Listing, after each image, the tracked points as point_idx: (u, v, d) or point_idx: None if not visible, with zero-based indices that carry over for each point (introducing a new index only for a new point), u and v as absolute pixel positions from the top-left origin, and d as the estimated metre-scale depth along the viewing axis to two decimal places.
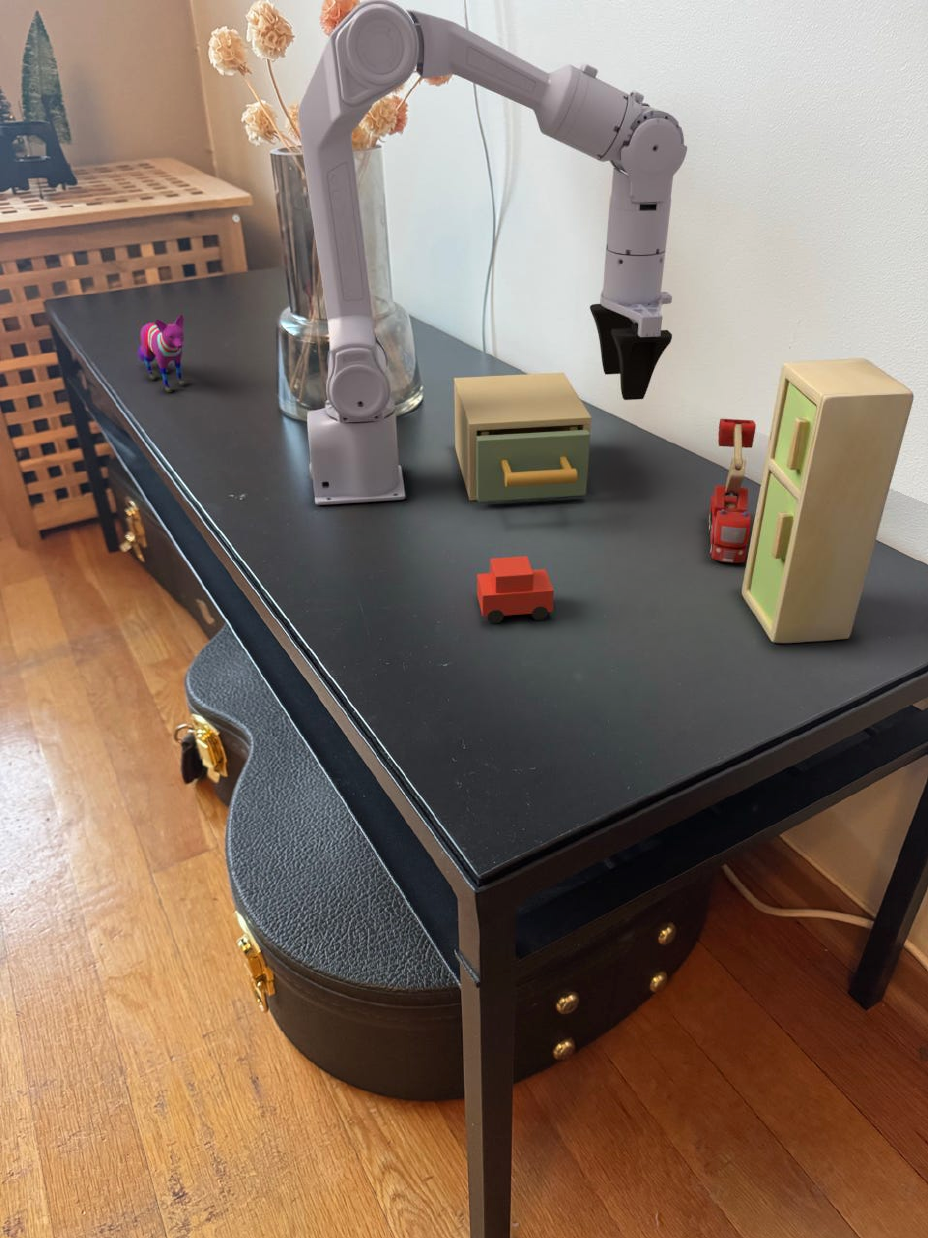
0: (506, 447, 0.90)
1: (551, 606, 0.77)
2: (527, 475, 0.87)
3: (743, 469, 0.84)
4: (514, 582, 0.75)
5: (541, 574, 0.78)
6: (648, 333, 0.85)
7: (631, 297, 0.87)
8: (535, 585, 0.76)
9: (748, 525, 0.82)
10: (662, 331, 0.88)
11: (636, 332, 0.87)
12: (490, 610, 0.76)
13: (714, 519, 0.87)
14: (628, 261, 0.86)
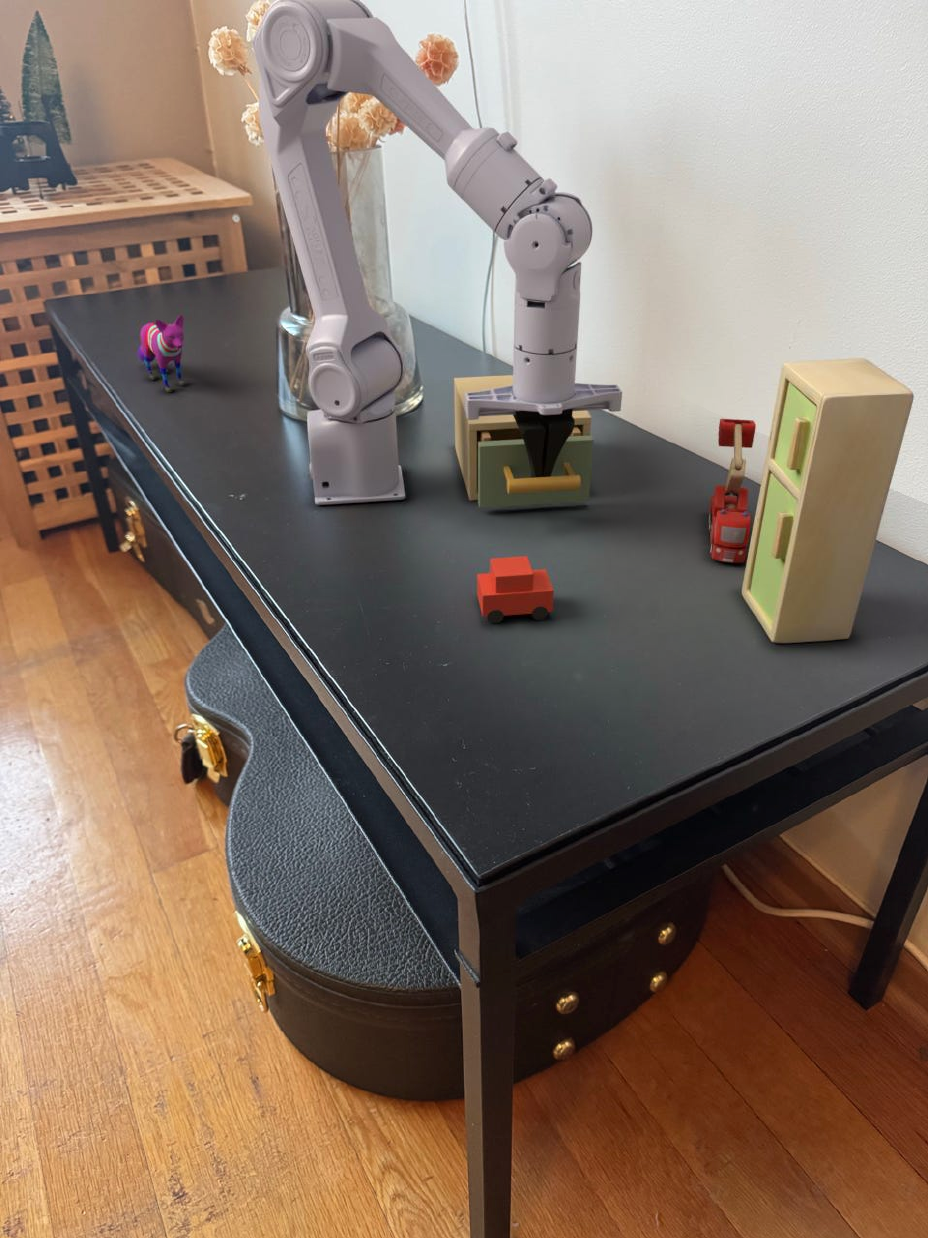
0: (508, 453, 0.89)
1: (551, 606, 0.77)
2: (530, 482, 0.86)
3: (743, 469, 0.84)
4: (514, 582, 0.75)
5: (541, 574, 0.78)
6: (465, 411, 0.84)
7: None
8: (535, 585, 0.76)
9: (748, 525, 0.82)
10: (537, 425, 0.83)
11: None
12: (490, 610, 0.76)
13: (714, 519, 0.87)
14: None
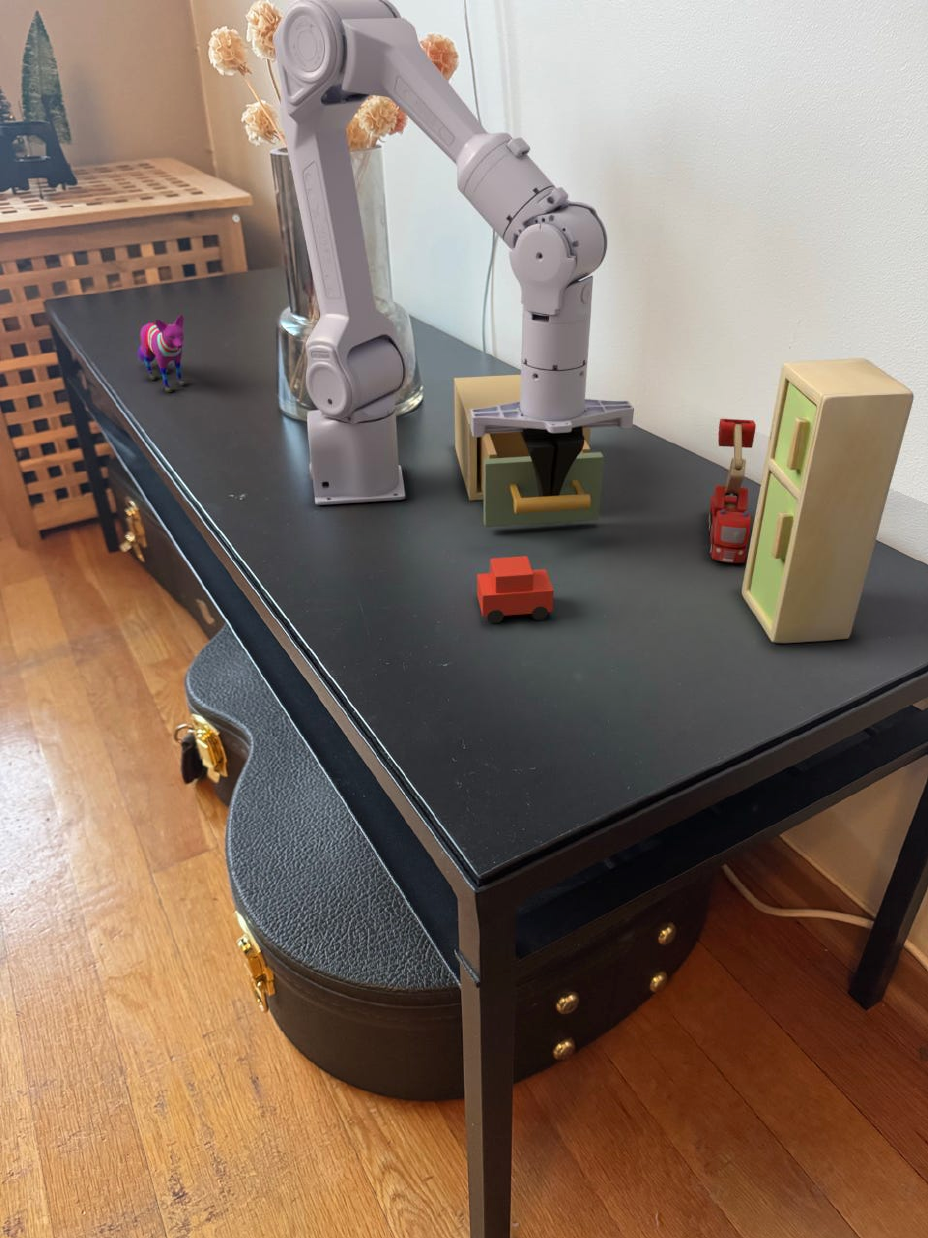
0: (515, 471, 0.86)
1: (551, 606, 0.77)
2: (537, 501, 0.83)
3: (743, 469, 0.84)
4: (514, 582, 0.75)
5: (541, 574, 0.78)
6: (470, 428, 0.81)
7: None
8: (535, 585, 0.76)
9: (748, 525, 0.82)
10: (545, 443, 0.80)
11: None
12: (490, 610, 0.76)
13: (714, 519, 0.87)
14: None
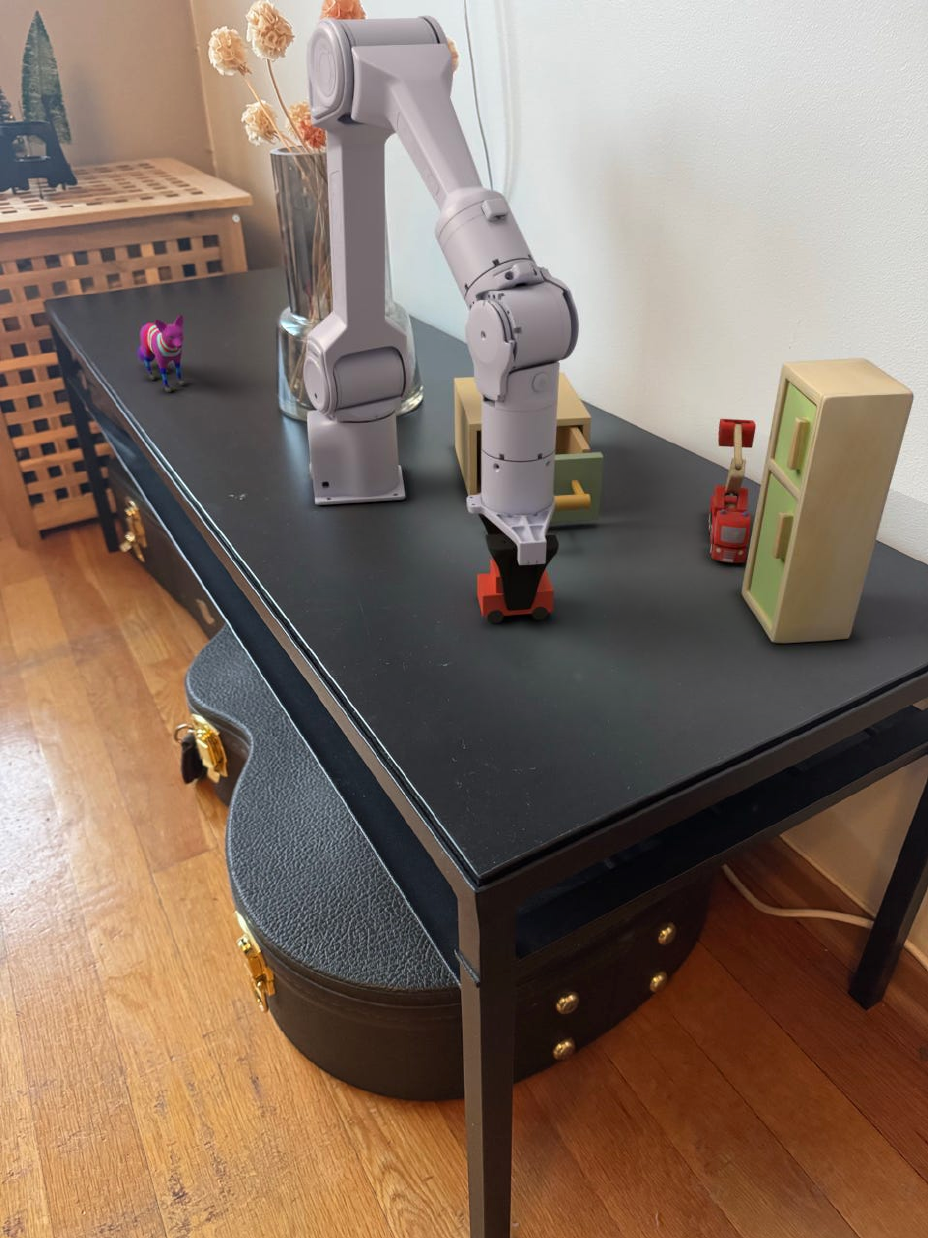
0: None
1: (551, 606, 0.76)
2: None
3: (743, 469, 0.84)
4: None
5: None
6: None
7: None
8: None
9: (748, 525, 0.82)
10: None
11: None
12: (490, 610, 0.76)
13: (714, 519, 0.87)
14: None
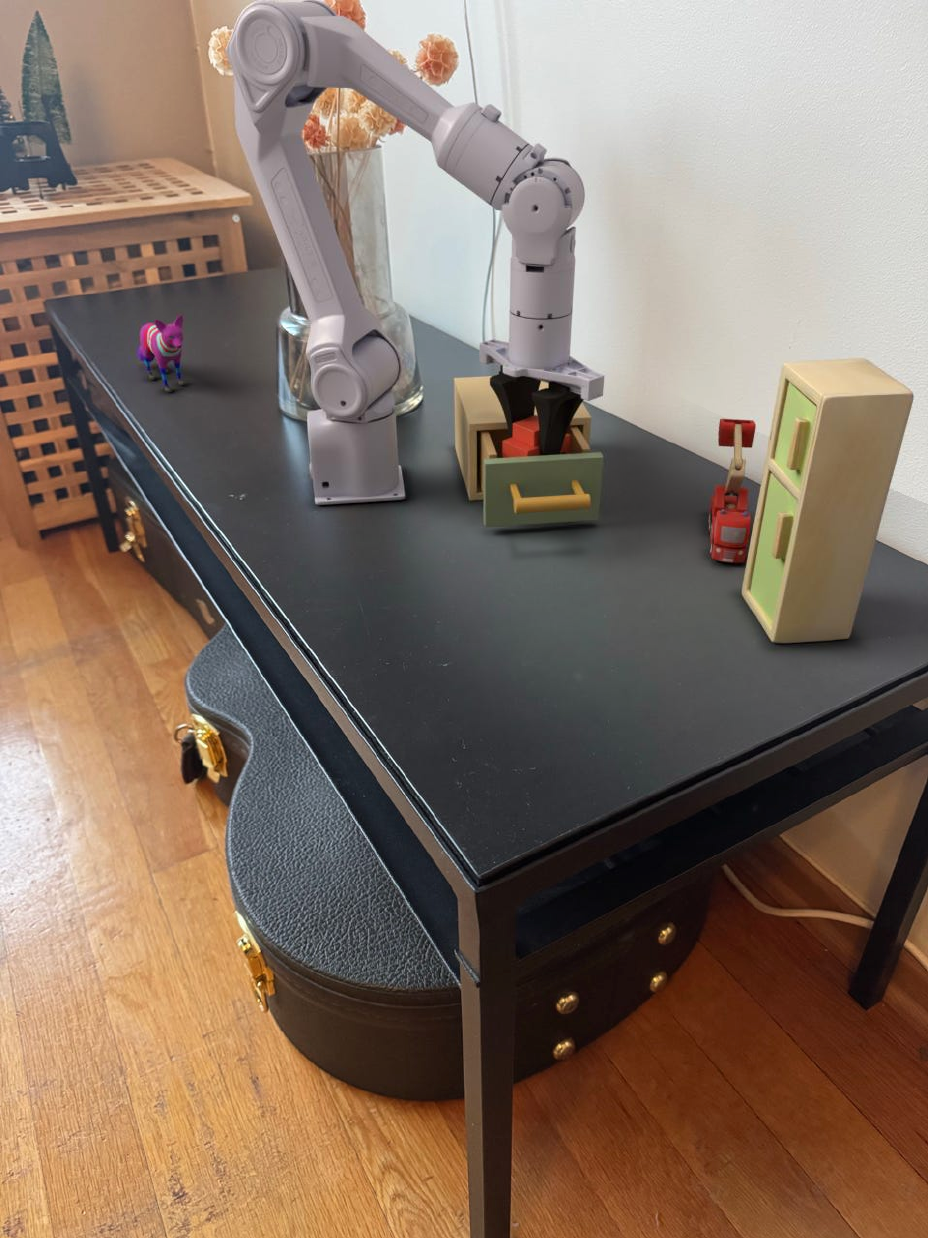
0: (515, 471, 0.86)
1: (568, 449, 0.90)
2: (537, 501, 0.83)
3: (743, 469, 0.84)
4: None
5: None
6: None
7: None
8: None
9: (748, 525, 0.82)
10: (503, 381, 0.86)
11: None
12: None
13: (714, 519, 0.87)
14: None
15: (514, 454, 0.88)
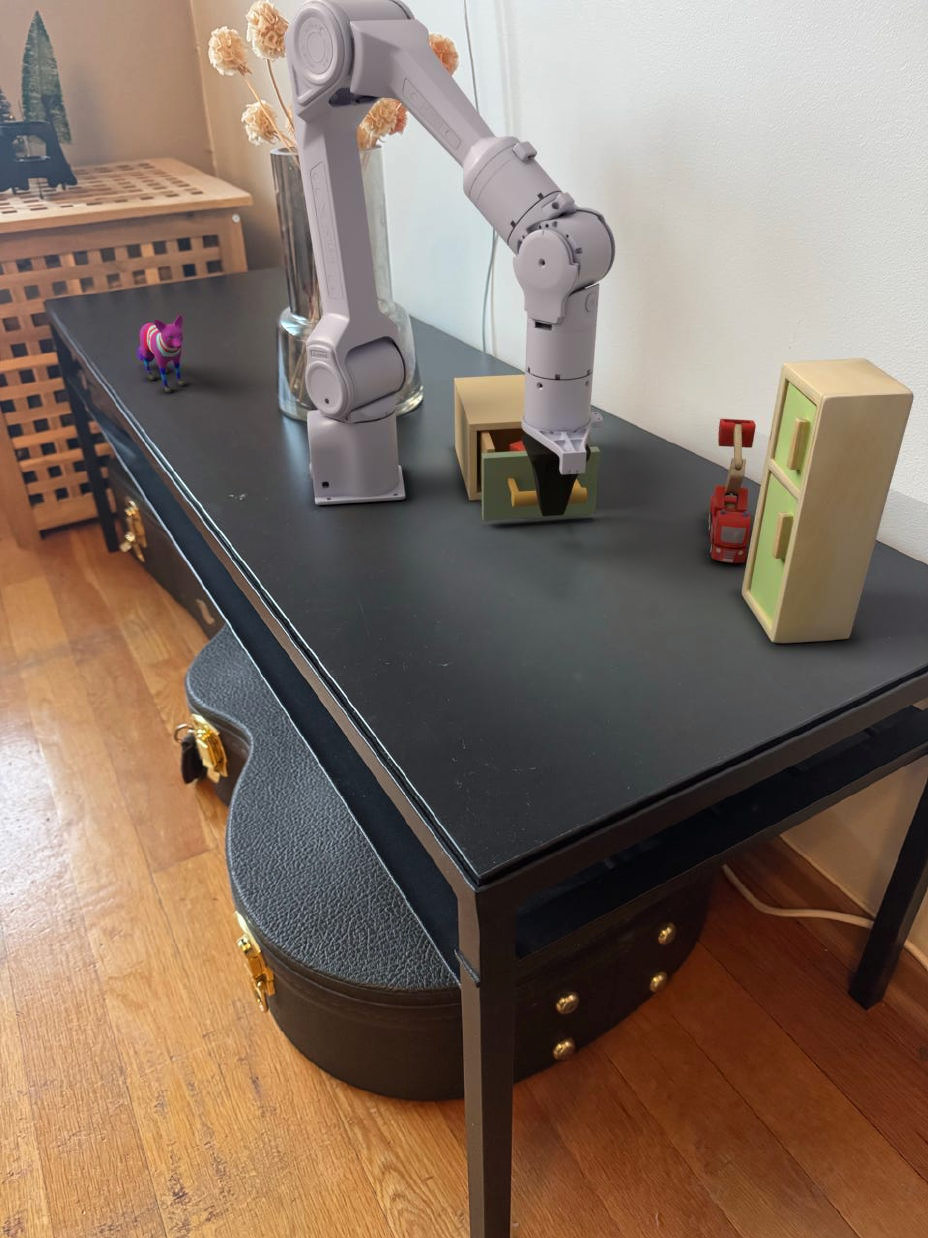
0: (512, 465, 0.87)
1: None
2: (535, 495, 0.84)
3: (743, 469, 0.84)
4: None
5: None
6: (571, 470, 0.74)
7: (554, 424, 0.76)
8: None
9: (748, 525, 0.82)
10: None
11: None
12: None
13: (714, 519, 0.87)
14: (548, 386, 0.74)
15: None
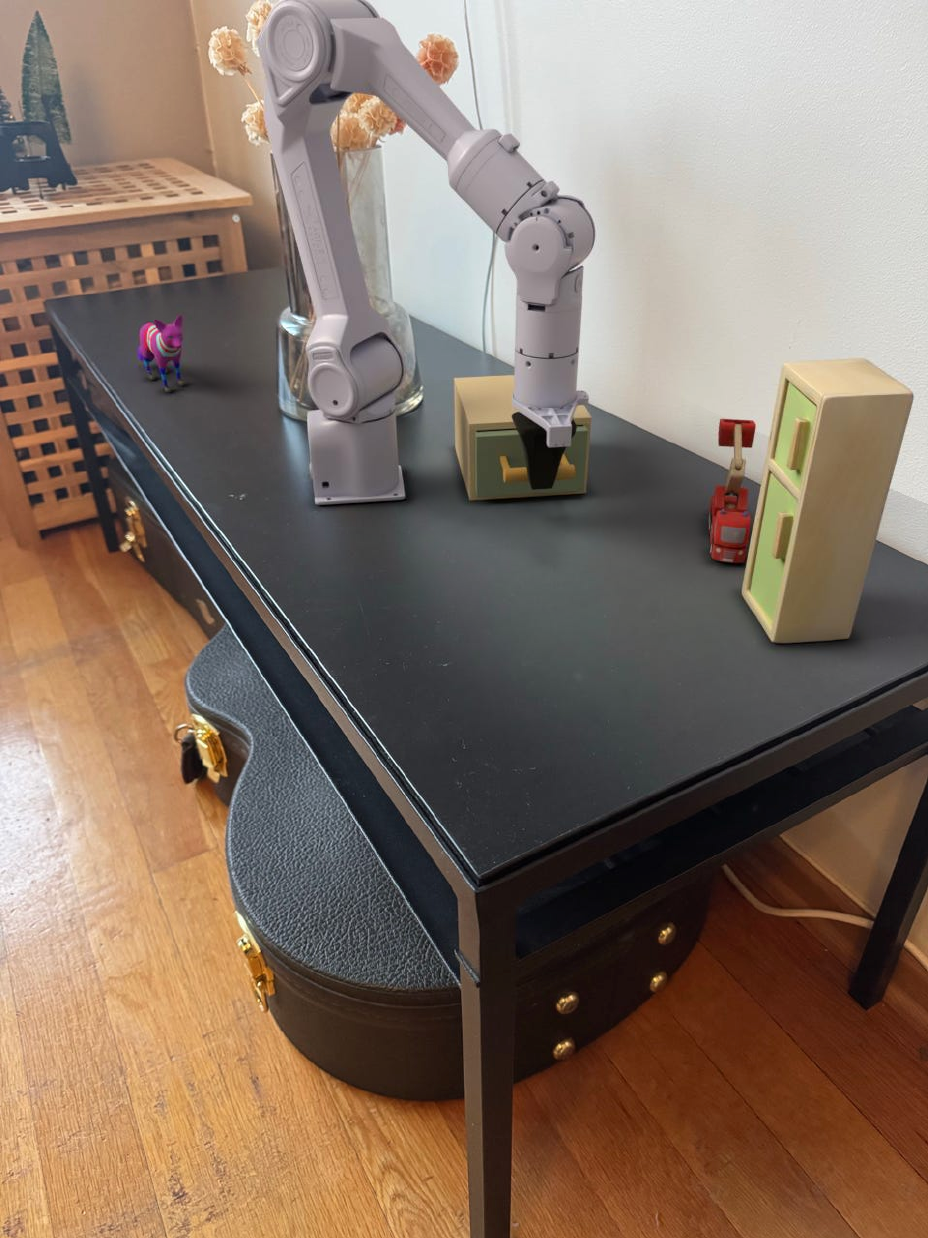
0: (504, 443, 0.91)
1: None
2: (525, 471, 0.88)
3: (743, 469, 0.84)
4: None
5: None
6: (557, 443, 0.78)
7: (541, 401, 0.81)
8: None
9: (748, 525, 0.82)
10: None
11: (538, 424, 0.83)
12: None
13: (714, 519, 0.87)
14: (536, 364, 0.79)
15: None
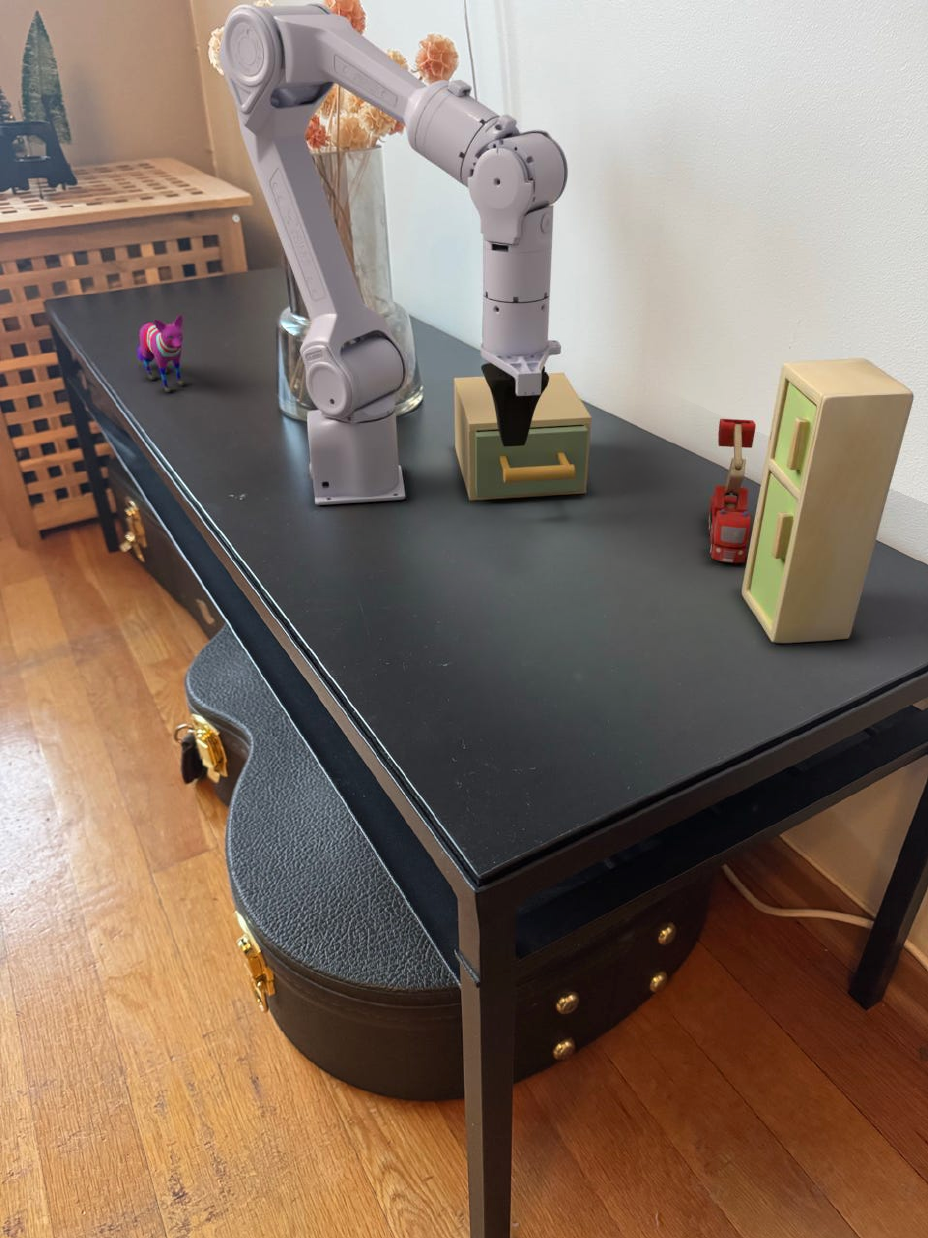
0: None
1: None
2: (525, 471, 0.88)
3: (743, 469, 0.84)
4: None
5: None
6: (526, 391, 0.74)
7: (511, 349, 0.77)
8: None
9: (748, 525, 0.82)
10: None
11: (509, 375, 0.79)
12: None
13: (714, 519, 0.87)
14: (505, 309, 0.75)
15: None
